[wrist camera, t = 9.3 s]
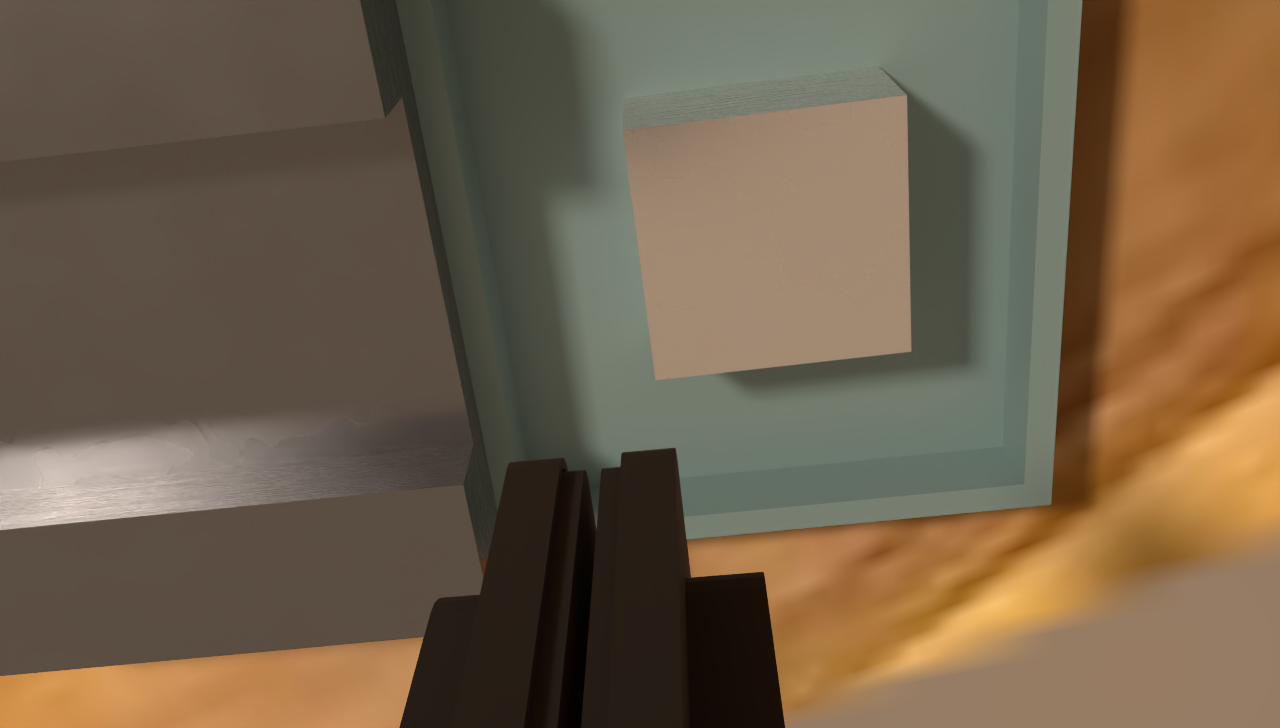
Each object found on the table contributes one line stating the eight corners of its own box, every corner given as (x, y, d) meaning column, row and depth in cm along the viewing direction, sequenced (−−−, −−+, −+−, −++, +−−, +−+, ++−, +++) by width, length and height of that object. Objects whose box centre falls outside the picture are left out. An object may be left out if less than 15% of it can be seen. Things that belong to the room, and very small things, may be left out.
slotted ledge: (393, -131, 20) (335, -117, 16) (515, 506, 27) (494, 630, 23) (-336, -42, 21) (-565, -7, 17) (-52, 561, 27) (-172, 691, 23)
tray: (1053, -212, 20) (1095, -215, 18) (1022, 457, 26) (1051, 504, 24) (393, -131, 20) (370, -126, 19) (515, 506, 27) (506, 556, 25)
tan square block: (622, 130, 20) (623, 97, 22) (655, 380, 22) (653, 327, 24) (907, 95, 19) (878, 66, 22) (911, 351, 22) (885, 301, 24)
